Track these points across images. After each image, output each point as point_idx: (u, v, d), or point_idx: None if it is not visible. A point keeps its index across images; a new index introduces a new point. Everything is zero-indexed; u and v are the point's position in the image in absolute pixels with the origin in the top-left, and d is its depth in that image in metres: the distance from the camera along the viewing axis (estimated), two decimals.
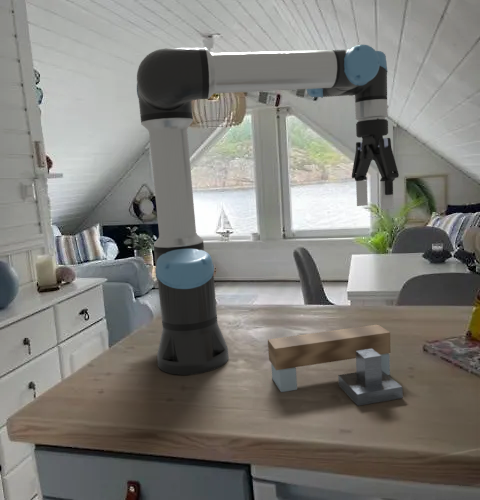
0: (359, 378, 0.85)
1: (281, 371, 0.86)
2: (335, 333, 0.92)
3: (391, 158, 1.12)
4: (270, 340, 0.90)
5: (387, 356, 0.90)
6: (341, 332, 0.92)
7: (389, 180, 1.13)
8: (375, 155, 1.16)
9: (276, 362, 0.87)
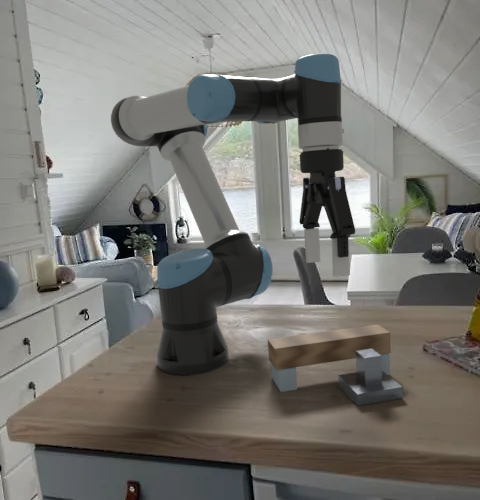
0: (359, 378, 0.85)
1: (281, 371, 0.86)
2: (335, 333, 0.92)
3: (345, 206, 0.79)
4: (270, 340, 0.90)
5: (387, 356, 0.90)
6: (341, 332, 0.92)
7: (342, 237, 0.79)
8: (324, 200, 0.83)
9: (276, 362, 0.87)
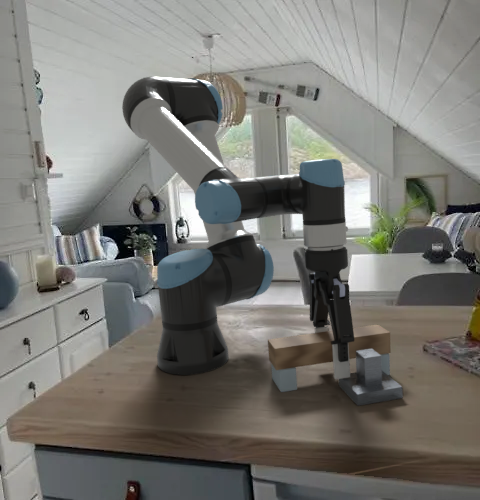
0: (359, 378, 0.85)
1: (281, 371, 0.86)
2: None
3: (347, 315, 0.82)
4: (270, 340, 0.90)
5: (387, 356, 0.90)
6: None
7: (342, 344, 0.83)
8: (328, 302, 0.85)
9: (276, 362, 0.87)
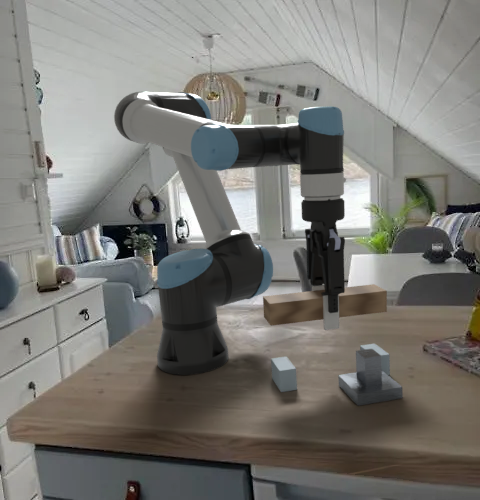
0: (359, 378, 0.85)
1: (281, 371, 0.86)
2: None
3: (340, 267, 0.83)
4: (265, 297, 0.89)
5: (387, 356, 0.90)
6: None
7: (333, 295, 0.85)
8: (322, 254, 0.85)
9: (271, 317, 0.86)
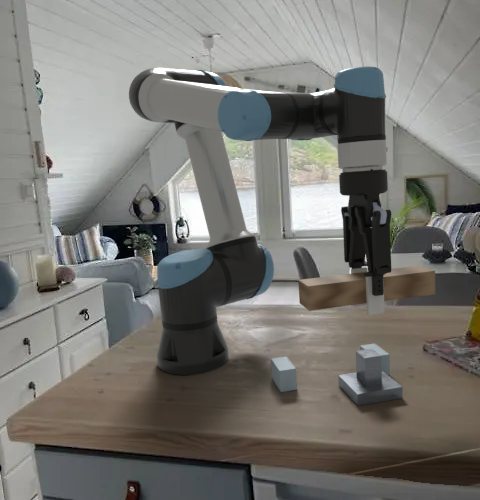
0: (359, 378, 0.85)
1: (281, 371, 0.86)
2: None
3: (386, 244, 0.75)
4: (301, 280, 0.81)
5: (387, 356, 0.90)
6: None
7: (378, 275, 0.77)
8: (365, 230, 0.77)
9: (309, 302, 0.77)
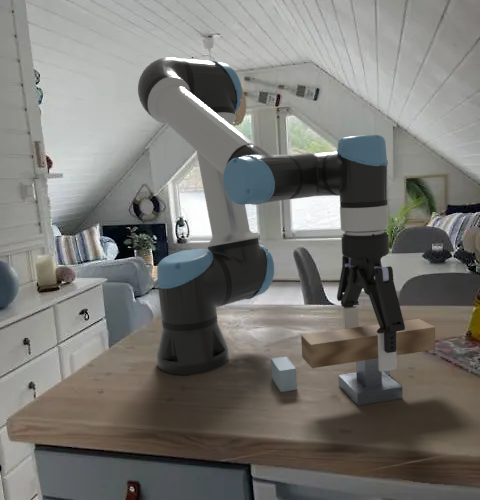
0: (359, 378, 0.85)
1: (281, 371, 0.86)
2: (374, 328, 0.84)
3: (393, 300, 0.74)
4: (304, 335, 0.83)
5: None
6: None
7: (390, 332, 0.74)
8: (369, 288, 0.78)
9: (312, 359, 0.79)
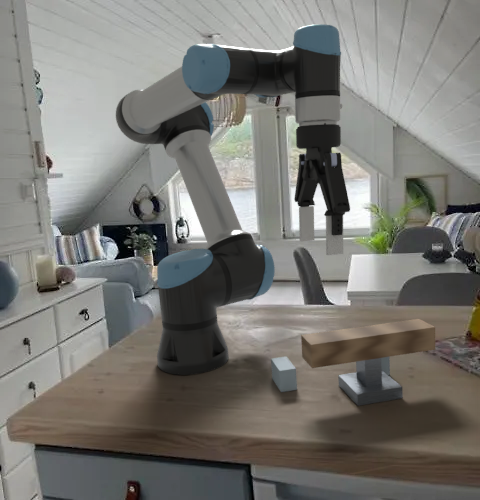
0: (359, 378, 0.85)
1: (281, 371, 0.86)
2: (374, 328, 0.84)
3: (340, 183, 0.77)
4: (304, 335, 0.83)
5: None
6: (380, 327, 0.84)
7: (337, 215, 0.78)
8: (320, 176, 0.81)
9: (312, 359, 0.79)
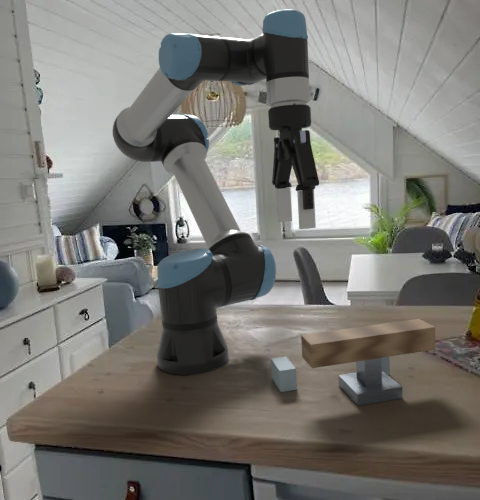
0: (359, 378, 0.85)
1: (281, 371, 0.86)
2: (374, 328, 0.84)
3: (309, 158, 0.81)
4: (304, 335, 0.83)
5: None
6: (380, 327, 0.84)
7: (307, 189, 0.81)
8: (291, 154, 0.84)
9: (312, 359, 0.79)
